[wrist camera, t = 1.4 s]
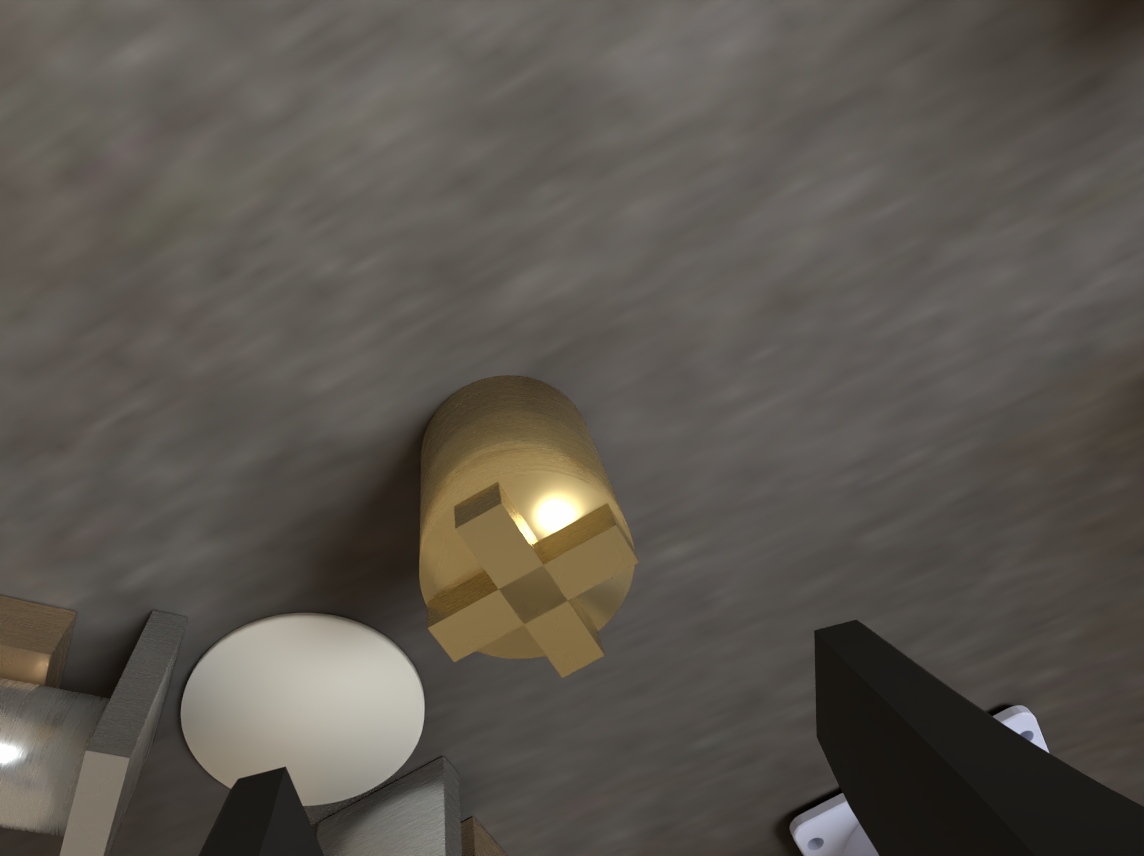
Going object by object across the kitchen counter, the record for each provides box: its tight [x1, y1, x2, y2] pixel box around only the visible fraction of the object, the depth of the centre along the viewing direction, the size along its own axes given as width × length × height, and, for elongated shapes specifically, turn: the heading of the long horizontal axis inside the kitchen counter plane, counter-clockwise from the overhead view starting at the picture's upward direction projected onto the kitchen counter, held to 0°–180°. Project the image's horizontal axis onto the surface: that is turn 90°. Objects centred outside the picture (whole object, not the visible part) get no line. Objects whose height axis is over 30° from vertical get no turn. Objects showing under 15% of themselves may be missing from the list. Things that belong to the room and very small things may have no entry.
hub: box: [419, 375, 639, 678], centre depth 18 cm, size 4×4×6 cm
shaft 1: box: [0, 596, 188, 856], centre depth 19 cm, size 5×4×5 cm
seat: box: [181, 613, 425, 806], centre depth 23 cm, size 6×6×1 cm
